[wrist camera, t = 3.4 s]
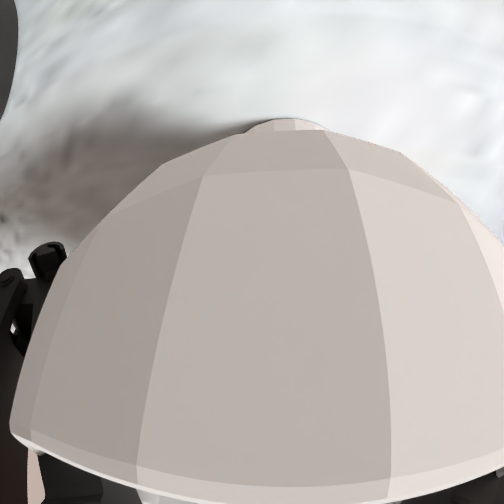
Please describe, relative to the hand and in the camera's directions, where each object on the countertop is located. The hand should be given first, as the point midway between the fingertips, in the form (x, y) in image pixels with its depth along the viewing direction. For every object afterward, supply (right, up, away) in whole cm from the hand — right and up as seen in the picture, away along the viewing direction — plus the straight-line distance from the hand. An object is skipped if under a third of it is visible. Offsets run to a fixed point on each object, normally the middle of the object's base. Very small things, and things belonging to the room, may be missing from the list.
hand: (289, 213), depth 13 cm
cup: (0, +2, +3) cm, 3 cm away
